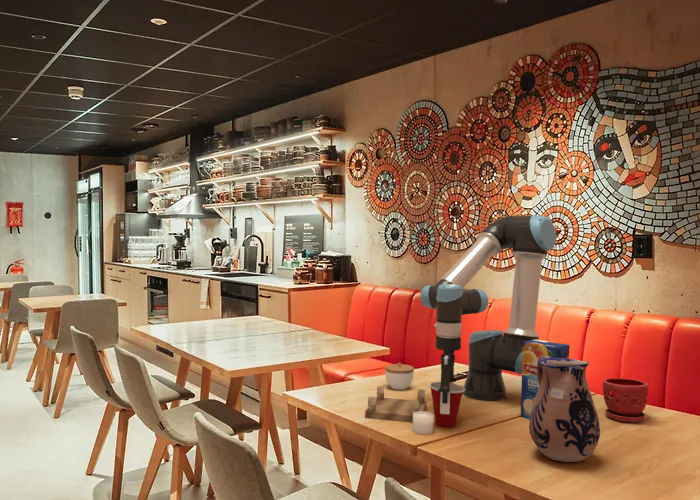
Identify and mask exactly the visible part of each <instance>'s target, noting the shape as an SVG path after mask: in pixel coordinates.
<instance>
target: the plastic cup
mask: <svg viewBox="0 0 700 500" xmlns="http://www.w3.org/2000/svg"><path fill="white" fill-rule="evenodd" d="M428 385H429V388H430V392H431V399H432V400H431V401H432V407H433V414H434V420H435V421H434V422H435V425H436V426H438V427H442V428H453V427H455V426H456V424H457V418H458V415H459V409H460V404H461V400H462V396H463V395H464V394H463V392H464V391H465V388H464V386H462V385H461V384H457V383H455V382H453V383H450V414H440V396H441V392H438V389H440V385H441V381H432V382H430V383H429V384H428ZM445 388H447V387H445Z"/></svg>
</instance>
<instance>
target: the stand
mask: <svg viewBox="0 0 700 500" xmlns="http://www.w3.org/2000/svg"><path fill="white" fill-rule="evenodd" d="M425 398H426V390H425V389H421V388H420V389H417V398H416V400H415V399H404V398H403V399H402V398H391V397H385V386H382V385H378V386H377V387H376V396H367V409H366V410H365V411H364V418H365V419H374V420H375V419H376V420H386V421H396V422H407V423H413V413H414V412H418V411H426V410H427V407H428V406H427V405H428V401H427V400H426V399H425Z"/></svg>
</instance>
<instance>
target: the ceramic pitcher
mask: <svg viewBox="0 0 700 500" xmlns="http://www.w3.org/2000/svg"><path fill="white" fill-rule="evenodd" d="M588 366H589V362H588V361H584V360H583V361H582V360H578V359H573V358H569V359H567V358H565V359H564V358H554V357H550V356H544V357H541V358H540V359H539V360H538V363H537V378H538V384H539V389H538V392H537V394H536V397H535V399H534V403H533V406H532V409H531V414H530V419H529V422H528V423H529V424H528V427H529V428H528V430H529V434H530V437H531V440H533V441H532V442H533V443H534V445H535V446H536V448H537V449H538V450H539V452H540V453H542V454H543V455H544V456H545V457H547V458H548V459H550V460H553V461H557V462H563V463H580V462H582V461H584V460H586V459H587V458H589V457H590V456H591V455H592V454H593V453H594V451H595V450H596V447H597V446H598V443H599V441H600V436H601V426H600V419H599V415H598V412H597V409H596V406H595V402H594V399H593V396H592V393H591V391H590V387H589V383H588V381H587V378H586V372H587V367H588Z"/></svg>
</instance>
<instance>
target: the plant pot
mask: <svg viewBox="0 0 700 500" xmlns="http://www.w3.org/2000/svg"><path fill="white" fill-rule="evenodd" d="M602 393H603V394H602V395H603V400H604V404H605V405H606V409H605V414H606V415H607V417H609V418H610V419H611V420H615V421H619V422H624V423H639V422H641V421H643V420H645V418H646V413H644V410H645V408H646V405H647V401H648V393H649V384H648V383H647V382H646V381H644V380H640V379H634V378H625V377H608V378H604V379H603V380H602ZM617 394H618V395H617Z"/></svg>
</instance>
